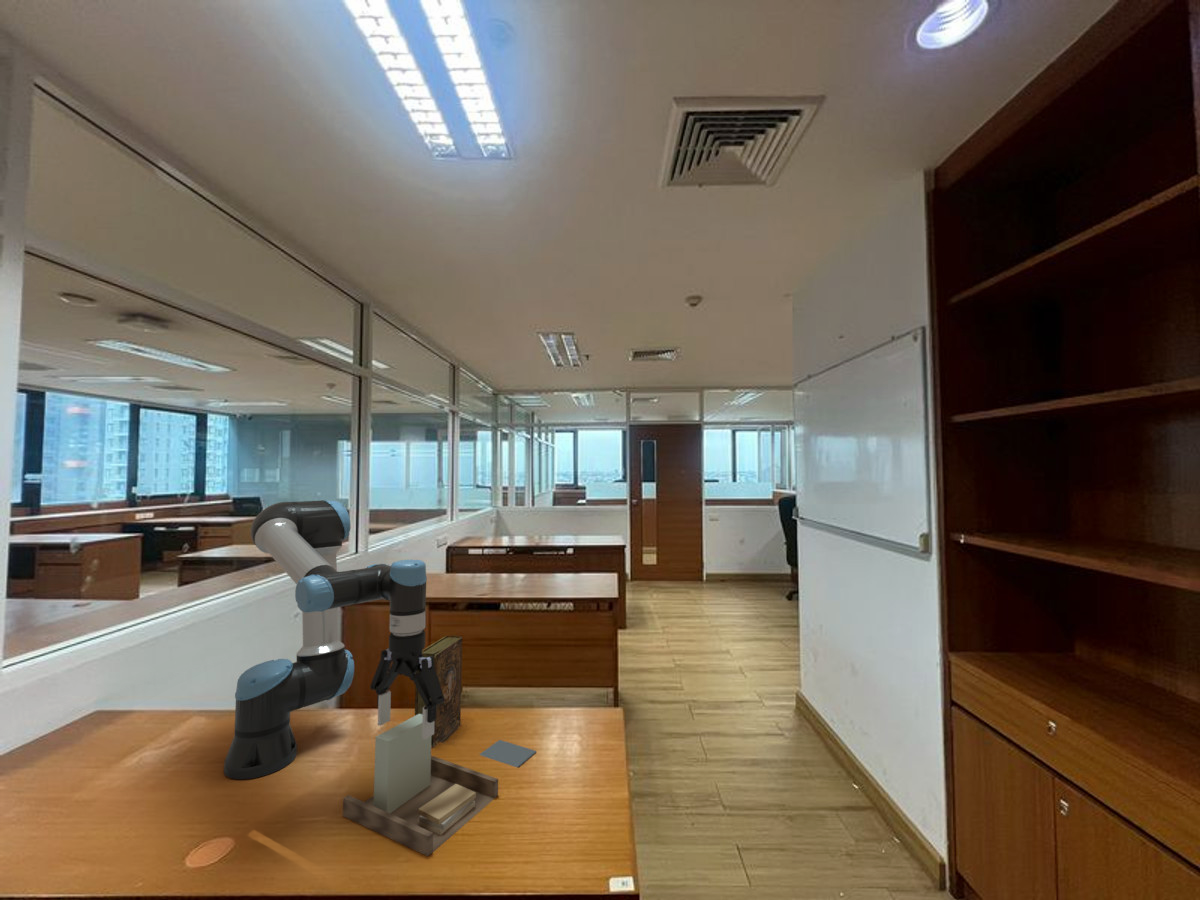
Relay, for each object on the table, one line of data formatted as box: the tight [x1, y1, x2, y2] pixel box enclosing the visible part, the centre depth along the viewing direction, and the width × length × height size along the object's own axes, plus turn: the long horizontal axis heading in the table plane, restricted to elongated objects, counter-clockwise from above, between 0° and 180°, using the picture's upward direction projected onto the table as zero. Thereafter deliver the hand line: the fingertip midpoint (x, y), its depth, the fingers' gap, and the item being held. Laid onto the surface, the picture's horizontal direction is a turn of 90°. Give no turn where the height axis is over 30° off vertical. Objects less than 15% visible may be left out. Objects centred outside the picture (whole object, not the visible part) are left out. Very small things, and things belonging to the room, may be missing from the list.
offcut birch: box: [418, 801, 475, 835], centre depth 106 cm, size 6×10×1 cm, turn 153°
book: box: [414, 635, 463, 749], centre depth 141 cm, size 16×6×25 cm, turn 168°
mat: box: [479, 739, 537, 769], centre depth 128 cm, size 12×18×1 cm, turn 153°
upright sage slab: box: [373, 714, 432, 813], centre depth 112 cm, size 4×12×15 cm, turn 153°
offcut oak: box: [418, 784, 476, 825], centre depth 106 cm, size 6×10×1 cm, turn 149°
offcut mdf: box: [419, 799, 474, 830], centre depth 106 cm, size 6×10×1 cm, turn 158°
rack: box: [342, 755, 499, 857], centre depth 109 cm, size 24×20×5 cm
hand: (405, 729), depth 112 cm, fingers open, 13 cm apart
